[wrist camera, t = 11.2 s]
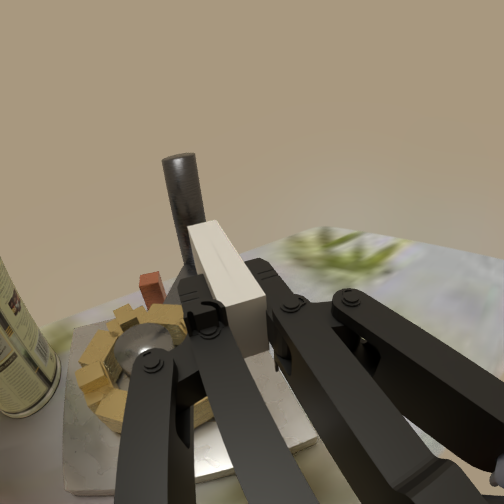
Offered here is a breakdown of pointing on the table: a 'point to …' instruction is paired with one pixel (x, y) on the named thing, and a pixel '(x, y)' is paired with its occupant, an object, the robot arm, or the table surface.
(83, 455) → the flange plate
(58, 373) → the coffee can
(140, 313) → the tan ring with handle
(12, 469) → the table surface
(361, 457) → the robot arm
